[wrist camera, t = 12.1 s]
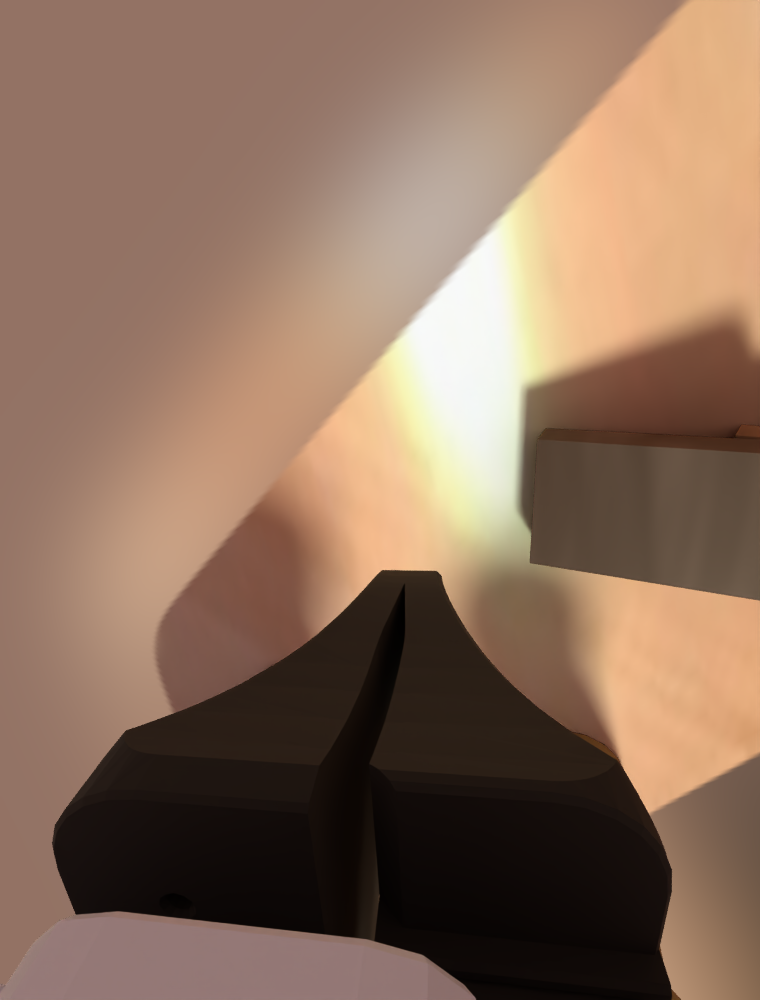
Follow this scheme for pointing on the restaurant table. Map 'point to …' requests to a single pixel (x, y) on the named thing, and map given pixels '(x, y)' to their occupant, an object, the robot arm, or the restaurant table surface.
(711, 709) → the restaurant table surface
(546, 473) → the tile
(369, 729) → the robot arm
